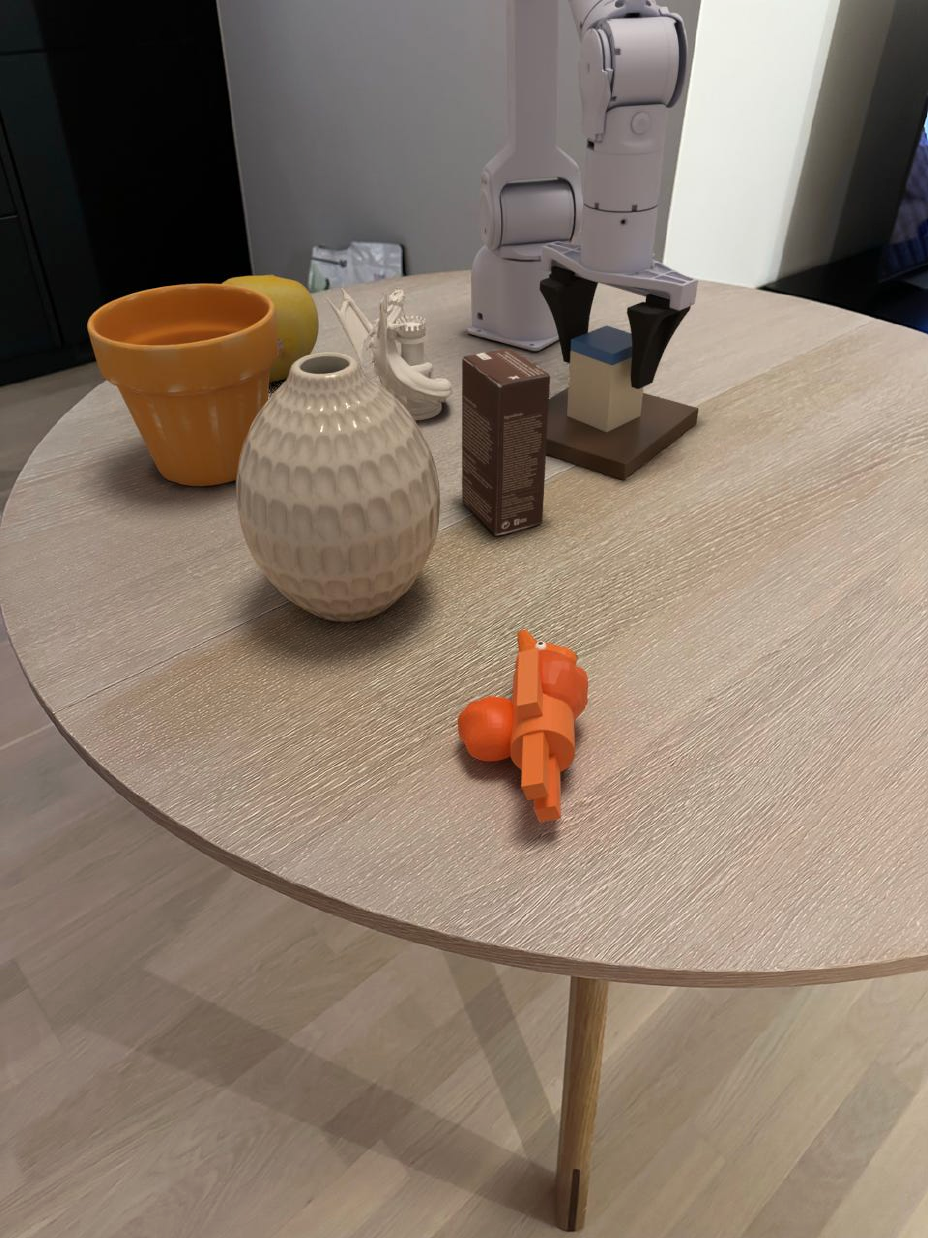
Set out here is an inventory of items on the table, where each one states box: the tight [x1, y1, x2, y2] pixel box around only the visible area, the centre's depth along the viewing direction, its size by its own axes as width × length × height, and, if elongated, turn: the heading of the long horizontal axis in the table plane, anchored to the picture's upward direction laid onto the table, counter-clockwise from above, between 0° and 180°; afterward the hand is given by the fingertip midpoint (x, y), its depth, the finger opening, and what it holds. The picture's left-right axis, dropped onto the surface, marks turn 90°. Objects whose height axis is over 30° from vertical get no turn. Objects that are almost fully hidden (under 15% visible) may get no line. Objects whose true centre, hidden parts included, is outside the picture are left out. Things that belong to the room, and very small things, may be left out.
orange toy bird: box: [457, 629, 589, 823], centre depth 51 cm, size 5×8×12 cm
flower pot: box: [86, 283, 279, 487], centre depth 76 cm, size 14×14×13 cm
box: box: [461, 348, 551, 536], centre depth 69 cm, size 6×4×12 cm
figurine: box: [325, 286, 453, 421], centre depth 84 cm, size 11×8×12 cm
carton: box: [567, 325, 644, 432], centre depth 80 cm, size 5×5×7 cm
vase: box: [235, 351, 441, 623], centre depth 59 cm, size 13×13×17 cm
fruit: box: [221, 274, 320, 383], centre depth 92 cm, size 10×11×10 cm
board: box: [546, 386, 699, 481], centre depth 83 cm, size 12×13×2 cm
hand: (607, 371), depth 80 cm, fingers open, 7 cm apart
